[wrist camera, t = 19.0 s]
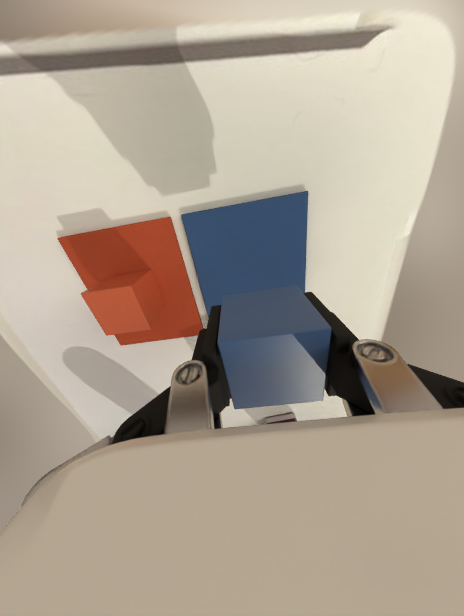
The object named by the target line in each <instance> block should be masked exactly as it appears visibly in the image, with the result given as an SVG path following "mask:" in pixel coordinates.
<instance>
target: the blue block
mask: <svg viewBox="0 0 464 616" xmlns="http://www.w3.org/2000/svg"><path fill="white" fill-rule="evenodd" d="M330 336H331V327H330V326H329V324H328V323H327V322H326V321H325V319H324V318H323V317H322V316H321V315H320V313H319V312H318V311H317V310H316V308H315V307H314V306H313V305H312V304H311V302H310V301H309V300H308V299H307V298H306V296H305V295H304V294H303V293H302V291H301V290H300V289H299V288H298V287H297V285H292V286H285V287H279V288H272V289H265V290H258V291H252V292H245V293H238V294H231V295H225V296H223V297H222V306H221V315H220V324H219V333H218V342H217V343H218V347H219V351H220V355H221V359H222V363H223V366H224V370H225V374H226V378H227V382H228V386H229V390H230V394H231V398H232V402H233V405H234V409H243V408H253V407H263V406H273V405H284V404H294V403H304V402H314V401H323V396H324V387H325V379H326V370H327V362H328V353H329V345H330Z"/></svg>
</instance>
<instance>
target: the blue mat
mask: <svg viewBox="0 0 464 616" xmlns="http://www.w3.org/2000/svg"><path fill="white" fill-rule="evenodd" d="M307 209H308V191H305V192H300V193H295V194H289V195H284V196H279V197H273V198H268V199H263V200H257V201H252V202H247V203H241V204H236V205H231V206H225V207H220V208H215V209H209V210H204V211H199V212H193V213H188V214H183V215H182V219H183V223H184V226H185V230H186V234H187V238H188V241H189V245H190V249H191V253H192V257H193V260H194V264H195V268H196V272H197V275H198V279H199V283H200V287H201V290H202V294H203V298H204V302H205V305H206V309H207V313H208V317H209V315H210V311H211V306H216V305H221V306H222V297H223V296H225V295H231V294H238V293H245V292H252V291H258V290H265V289H272V288H279V287H285V286H292V285H297V287H298V288H299V289H300V290H301V291H302V293H305V271H306V240H307Z"/></svg>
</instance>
